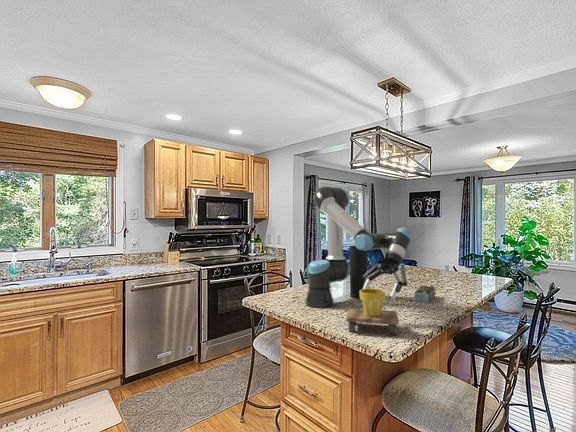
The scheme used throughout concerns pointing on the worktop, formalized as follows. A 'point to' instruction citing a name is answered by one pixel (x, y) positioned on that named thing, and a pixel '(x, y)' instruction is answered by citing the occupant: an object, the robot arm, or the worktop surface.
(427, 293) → the beverage carton
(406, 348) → the worktop surface
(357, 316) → the shelf stand
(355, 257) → the vase
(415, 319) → the worktop surface
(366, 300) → the plant pot
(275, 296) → the worktop surface
